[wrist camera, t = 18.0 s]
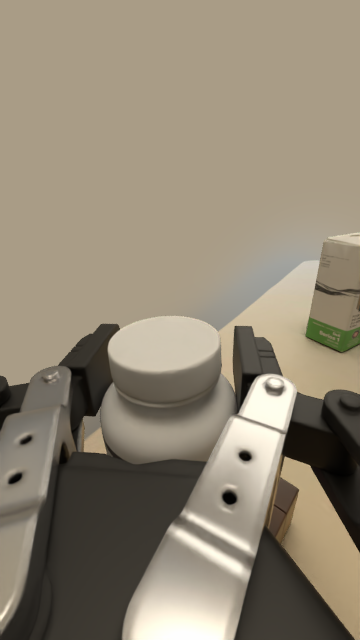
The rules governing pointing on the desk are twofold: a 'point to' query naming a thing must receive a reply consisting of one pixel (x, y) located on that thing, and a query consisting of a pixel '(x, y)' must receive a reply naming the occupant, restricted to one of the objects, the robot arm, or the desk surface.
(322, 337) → the ink box
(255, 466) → the robot arm
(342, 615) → the desk surface
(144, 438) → the pill bottle
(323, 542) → the desk surface
